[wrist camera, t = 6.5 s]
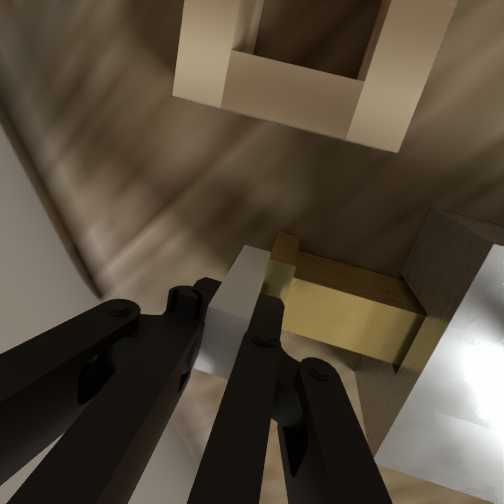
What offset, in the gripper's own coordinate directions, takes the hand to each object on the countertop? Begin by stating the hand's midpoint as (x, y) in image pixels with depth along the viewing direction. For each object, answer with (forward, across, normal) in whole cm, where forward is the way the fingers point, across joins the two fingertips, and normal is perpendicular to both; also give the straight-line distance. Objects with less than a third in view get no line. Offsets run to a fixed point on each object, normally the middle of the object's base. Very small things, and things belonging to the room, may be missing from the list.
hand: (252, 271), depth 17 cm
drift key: (+2, +6, 0) cm, 6 cm away
